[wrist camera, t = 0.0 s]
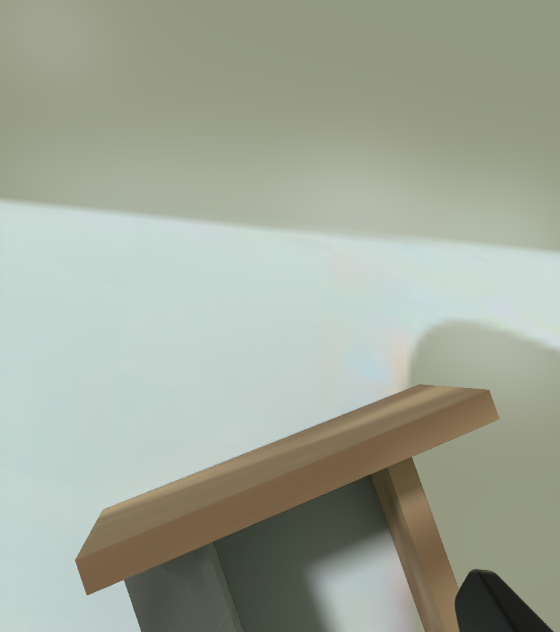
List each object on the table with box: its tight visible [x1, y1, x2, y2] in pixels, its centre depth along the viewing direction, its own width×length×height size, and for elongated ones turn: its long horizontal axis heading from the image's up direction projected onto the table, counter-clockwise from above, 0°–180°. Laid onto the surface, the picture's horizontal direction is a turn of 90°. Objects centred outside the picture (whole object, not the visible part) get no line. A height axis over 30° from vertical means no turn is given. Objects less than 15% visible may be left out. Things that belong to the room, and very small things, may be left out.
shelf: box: [75, 385, 499, 632], centre depth 21 cm, size 12×16×6 cm
